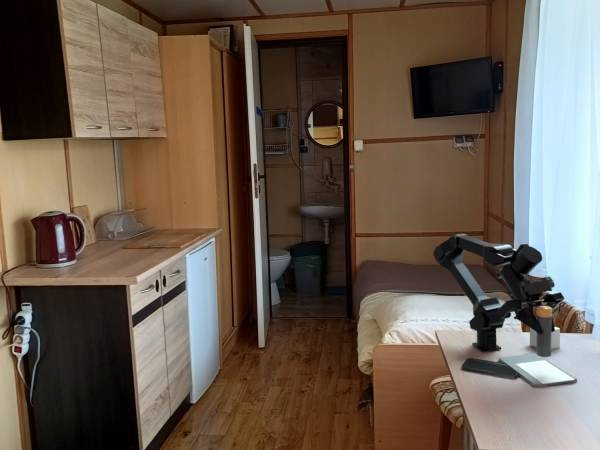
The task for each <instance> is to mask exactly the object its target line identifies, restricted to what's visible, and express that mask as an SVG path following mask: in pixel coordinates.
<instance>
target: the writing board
mask: <svg viewBox="0 0 600 450" xmlns="http://www.w3.org/2000/svg"><path fill="white" fill-rule="evenodd" d="M498 362H500V363H506V364H507V365H508V366H509V367H511V368H512V369H514V370H515V371H516V372H518V373H519V376H518V377H521V378H522V379H523V380H524V381H525V382H527V383H529V384H530V385H531V386H533V387H534V388H538V387H545V386H553V385H560V384H561V385H562V384H567V383H575V382H578V378H577V377H575V376H573V375H572V374H571V373H569V372H568V371H566V370H564V369H563V368H561V367H560V366H558V365H556V364H554V363H553V362H551V361H550V360H548V359H547V358H546V357H541V356H538V355H537V354H536V352H533V353H527V354H518V355H509V356H503V357H502V356H501V357H500V356H499V357H498Z"/></svg>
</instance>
